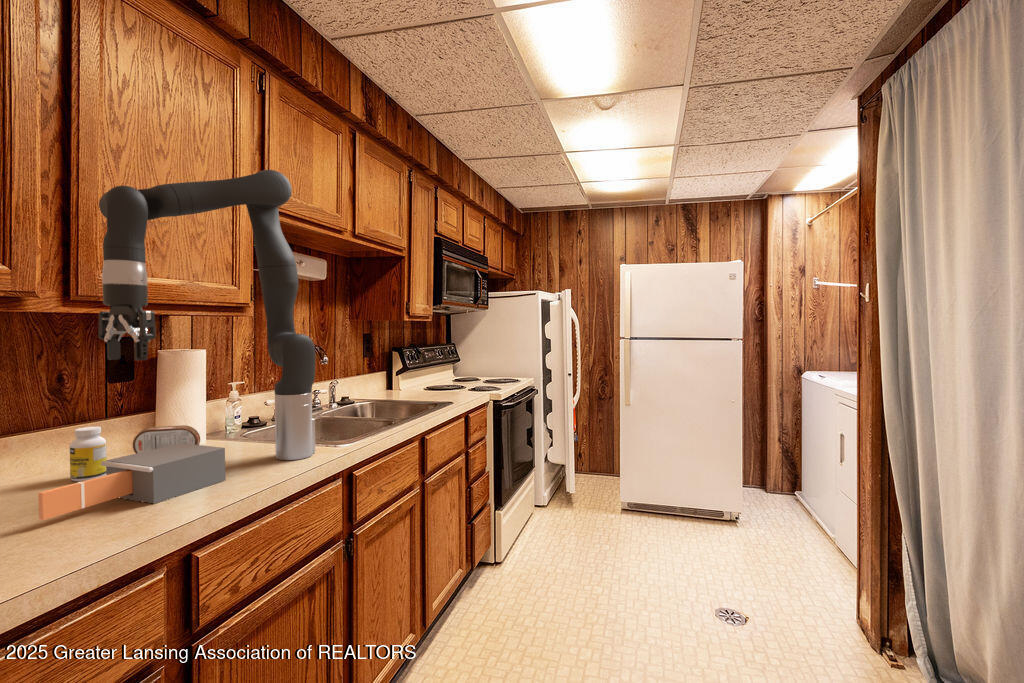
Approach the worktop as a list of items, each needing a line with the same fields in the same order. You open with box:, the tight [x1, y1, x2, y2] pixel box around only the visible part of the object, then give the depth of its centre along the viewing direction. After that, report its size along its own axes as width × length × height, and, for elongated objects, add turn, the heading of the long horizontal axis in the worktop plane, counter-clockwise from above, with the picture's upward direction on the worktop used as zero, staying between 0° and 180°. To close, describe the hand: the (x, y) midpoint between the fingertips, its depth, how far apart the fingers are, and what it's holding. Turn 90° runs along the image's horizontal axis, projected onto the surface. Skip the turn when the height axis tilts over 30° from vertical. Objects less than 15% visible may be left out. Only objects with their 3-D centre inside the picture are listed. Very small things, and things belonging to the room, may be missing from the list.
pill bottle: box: [69, 426, 108, 482], centre depth 115 cm, size 6×6×12 cm
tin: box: [132, 424, 201, 454], centre depth 133 cm, size 15×3×8 cm, turn 111°
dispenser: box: [101, 443, 226, 504], centre depth 107 cm, size 17×14×8 cm
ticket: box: [37, 470, 133, 521], centre depth 94 cm, size 18×1×5 cm, turn 160°
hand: (127, 359), depth 105 cm, fingers open, 8 cm apart
